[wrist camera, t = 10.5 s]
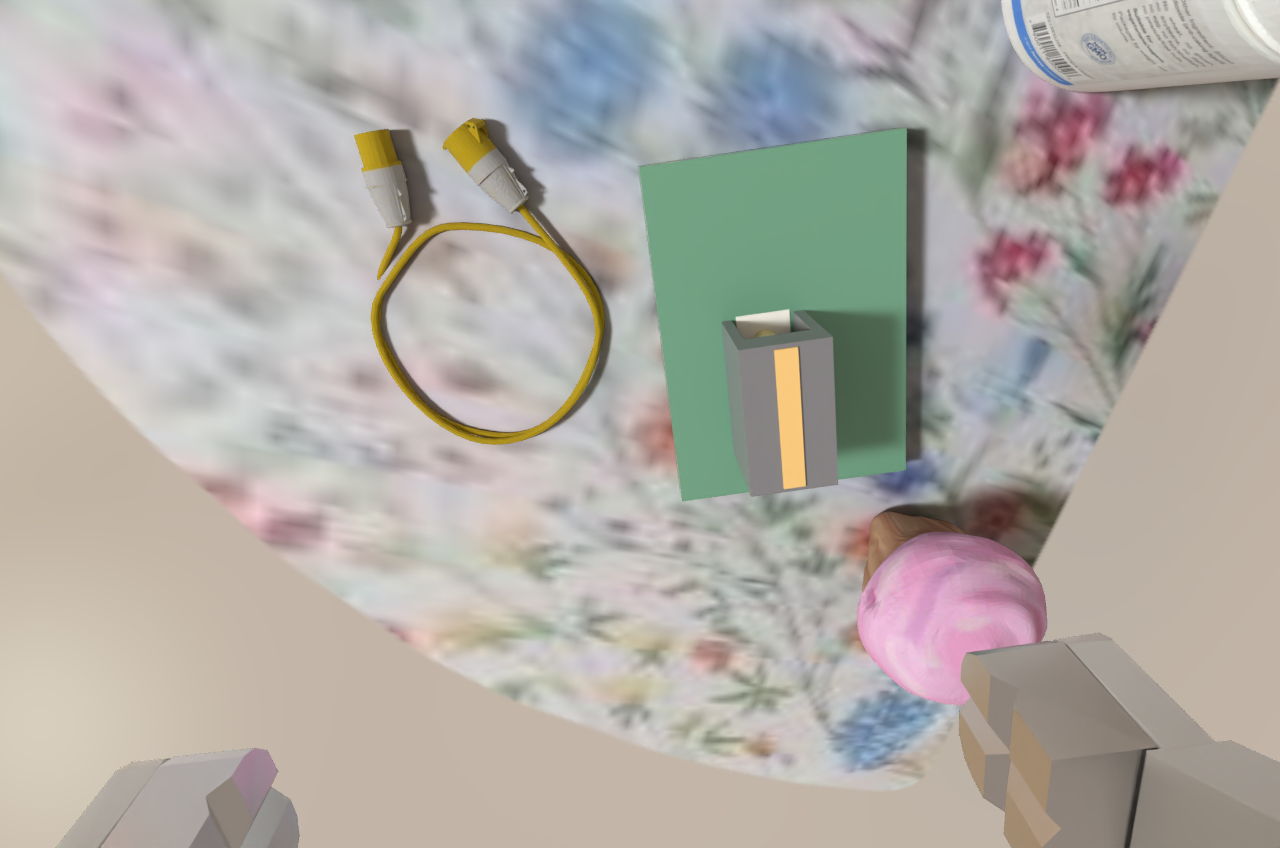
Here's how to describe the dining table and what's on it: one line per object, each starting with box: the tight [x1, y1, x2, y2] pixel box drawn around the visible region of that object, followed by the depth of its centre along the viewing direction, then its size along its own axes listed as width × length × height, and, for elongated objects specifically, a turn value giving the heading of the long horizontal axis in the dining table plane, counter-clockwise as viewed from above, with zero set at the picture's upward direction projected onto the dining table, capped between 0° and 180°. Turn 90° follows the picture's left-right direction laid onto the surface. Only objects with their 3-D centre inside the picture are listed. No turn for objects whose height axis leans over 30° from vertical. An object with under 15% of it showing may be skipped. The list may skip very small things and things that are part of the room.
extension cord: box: [354, 118, 605, 445], centre depth 35 cm, size 12×16×2 cm
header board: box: [638, 128, 907, 501], centre depth 35 cm, size 17×12×4 cm
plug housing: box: [721, 310, 838, 497], centre depth 34 cm, size 7×4×5 cm, turn 8°
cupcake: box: [857, 511, 1047, 705], centre depth 37 cm, size 9×9×10 cm
